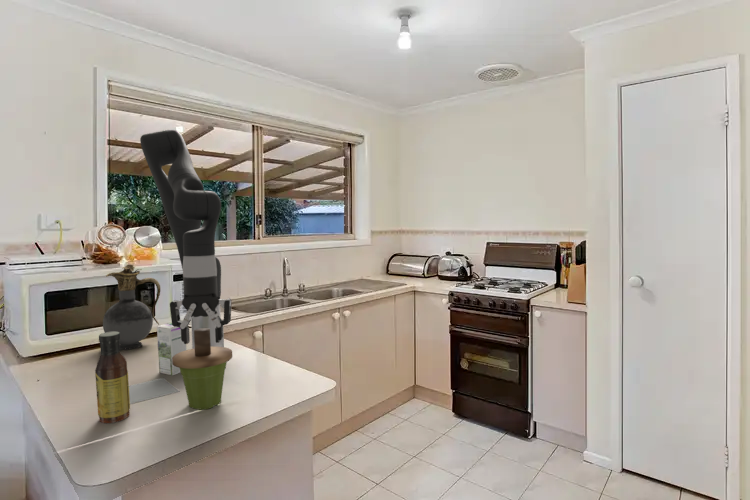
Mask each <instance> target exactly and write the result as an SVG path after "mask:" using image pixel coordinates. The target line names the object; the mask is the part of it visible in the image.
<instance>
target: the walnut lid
mask: <svg viewBox="0 0 750 500" xmlns="http://www.w3.org/2000/svg"><path fill="white" fill-rule="evenodd" d="M194 344H195V348H194V349H192V348H190V349H186V351H182V352H180V353H177V354H176V355H174V356H173V357H172V364H173V365H174V366H175V367H179V368H187V369H194V368H205V367H211V366H215V365H219V364H222V363H225V362H226V363H227V362H229V361H231V360H232V358H233V349H232V348H229V347H225V346H224V347H211V343H210V329H209V328H201V329H196V330H194Z"/></svg>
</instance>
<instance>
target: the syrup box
mask: <svg viewBox="0 0 750 500" xmlns="http://www.w3.org/2000/svg"><path fill="white" fill-rule="evenodd" d="M156 331H157V332H156V334H157V335H156V336H157V351H158V369H159V370H158V371H159V373H160V374H162V375H163V374H165V375H169V376H174V375H177V374H181V372H180V368H179V367H175V366H174V365H173V364H172V357H173V356H174V355H176V354H177V353H180V352H182V351H186V350H187V344H184V342H182V340H181V329H180V328H179V327H176V326H175V327H174V326H172V322H167V323H163V324H159V325H157V326H156Z"/></svg>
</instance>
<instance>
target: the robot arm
mask: <svg viewBox="0 0 750 500" xmlns="http://www.w3.org/2000/svg"><path fill="white" fill-rule="evenodd" d="M139 141H140V147H141V151H142V153H143V156H144V158H145V161H146V163H147V165H148V167H149V170H150V173H151V175H152V178H153V180H154V182H155V185H156V187H157V191H158V194H159V196H160V200H161V203H162V207H163V210H164V213H165V216H166V218H167V222H168V225H169V227H170V230H171V233H172V235H173V239H174V241H175V245H176V248H177V251H178V255H179V260H180V265H181V269H182V281H183V283H182V285H183V286H182V287H183V299H182V300H176V299H175V300H173V301H171V302H169V310H170V311H169V312H170V319H171V323H172V326H174V327H175V326H176V327H179V328H180V329H181V340H182V342H184V344H186V345H188V344H190V341H191V346H192V347H191V349H194V348H195V344H194V330H196V329H201V328H209V329H210V343H211V347H225V338H224V337H225V336H224V326H226V325H229V324H230V323H231V321H232V299H231V298H227V299H226V298H225V299H224V298H221V293H222V265H221V261H220V259H219V258H218V257H216V253H215V252H216V250H215V248H216V247H215V244H216V243H215V237H216V231H217V227H218V222H219V218H220V214H221V212H222V201H221V198H220V196H219V194H217V192H215V191H212V190H211V191H210V190H204V189H205V188H204V185H203V183H202V181H201V178H200V177H199V176H198V174H197V172H196V170H195V168H194V164H193V161H192V157H191V155H190V152H189V149H188V147H187V144H186V141H185V139H184V137H183V135H182V134H181V132H179V131H178V130H177V129H167V130H166V129H165V130H160V131H155V132H149V133H145V134H142V135H141V136H140V140H139ZM168 165H171V166H170V167H169V169H168V172H167V174H166V173H165V171H164V170H163V166H168ZM202 221H203V222H202ZM182 307H183V308H185V310H186V311H187V312H186V314H185V315H184V317H183V320H181V313H180V310H181V308H182ZM221 308H222V309H223V319H222V317H221V315H222V314H221ZM190 322H191V335H190V327H189V325H190ZM190 336H191V339H190Z"/></svg>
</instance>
